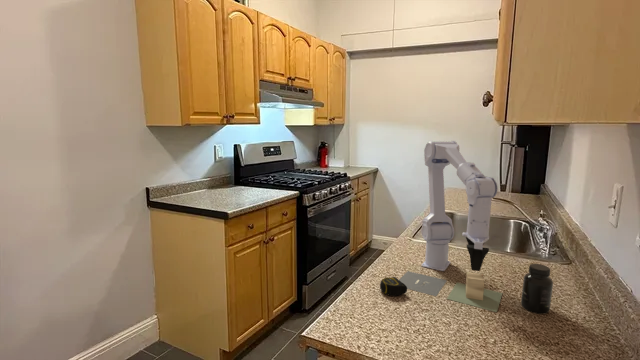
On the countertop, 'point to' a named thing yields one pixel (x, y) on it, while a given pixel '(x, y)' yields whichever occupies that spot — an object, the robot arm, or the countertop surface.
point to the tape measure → (392, 286)
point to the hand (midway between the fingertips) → (474, 265)
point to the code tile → (422, 283)
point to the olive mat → (488, 302)
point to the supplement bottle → (537, 289)
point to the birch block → (474, 286)
